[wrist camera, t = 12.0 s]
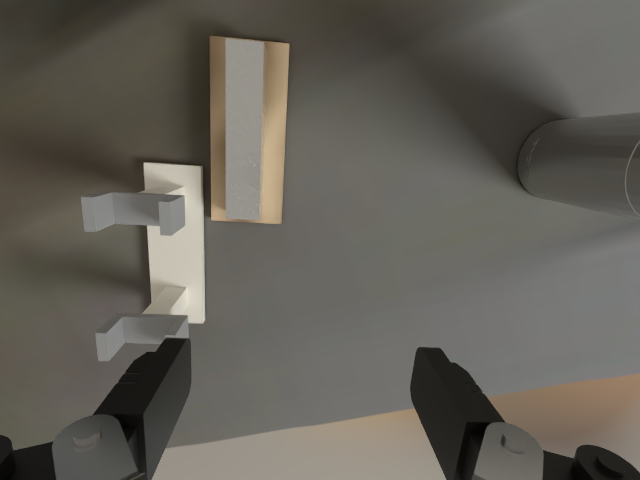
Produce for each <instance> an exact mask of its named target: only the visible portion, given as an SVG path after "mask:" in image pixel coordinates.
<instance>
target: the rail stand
mask: <svg viewBox="0 0 640 480" xmlns="http://www.w3.org/2000/svg"><path fill="white" fill-rule="evenodd" d="M144 180H145V191H141V192H122V191H102V192H98V193H94V194H90V195H86V196H82V197H81V202H82V212H83V221H84V230H85V231H89V232H97V231H99V230H102V229H104V228H106V227H109V226H111V225H113V224H129V225H147V232H148V250H149V267H150V284H151V302H152V303H151V304H150V305H149V306H148V307H147V309H146V310H145V311H144V312H143V313H142V314H137V313H116V314H115V315H114V316H113V317H112V318H111V319H110V320H109V321H108V322H107V323H106V324H104V325H103V326H102V327H101V328H100V329H99V330H98V331H97V332H96V333H95V334H96V343H97V353H98V361H109V360H110V359H111V358H112V357H113V356H114V355H115V353H116V352H117V351H118V350H119V349H120V348H121V346H122V345H123V344H124V343H150V344H161V343H162V342H163V341H164V339H165V338H167V337H172V338H189V333H188V323H204V321H205V276H204V206H203V166H195V165H181V164H166V163H152V162H145V163H144Z"/></svg>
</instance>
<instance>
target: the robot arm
mask: <svg viewBox="0 0 640 480" xmlns="http://www.w3.org/2000/svg"><path fill="white" fill-rule="evenodd" d="M517 167H518V175H519V179H520V182H521V183H522V185H523V187H524V188H525V189H526V190H527V191H528V192H529V193H530V194H532V195H534V196H536V197H539V198H542V199H547V200H552V201H556V202H561V203H564V204H569V205H573V206H578V207H582V208H587V209H592V210H596V211H601V212H605V213H610V214H614V215H619V216H623V217H628V218H632V219H637V220H640V113H630V114H619V115H608V116H597V117H584V118H574V119H563V120H555V121H551V122H548V123H546V124H544V125H542V126H540V127H539V128H537V129H536V130H535V131H534V132H533V133H532V134H531V135H530V136H529V137H528V138H527V140H526V141H525V143H524V145H523V147H522V148H521V151H520V154H519V157H518V165H517ZM190 386H191V342H190V339H189V338H172V337H167V338H165V339H164V341H163V342H162V343H161V345H160V346H159V348H158V349H157V351H156V352H146V353H145V354H143V355H142V356H140V357H139V358H137V359H136V360H134V361H133V363H132V364H131V365H130V367H129V368H128V369H127V371H126V372H125V374H123V376H122V377H121V378H120V380H119V382H118V383H117V384H116V385H115V386H114V388H113V389H112V390H111V392H110V393H109V394H108V395H107V397H106V398H105V399H104V401H103V402H102V403H101V405H100V406H99V407H98V409H97V410H96V411H95V413H94V414H93V415H92V416H88V417H85V418H82V419H80V420H77V421H75V422H73V423H72V424H70V425H69V426H67V427H66V428H64V429H63V430H62V431H61V432H60V433H59V434H58V435H57V437H56V438H55V440H54V441H53V442H50V443H46V444H41V445H37V446H32V447H28V448H23V449H19V450H14V451H13V448H12V442H11V440H10V439H9V438H8V437H5V436H2V435H0V480H151V479H152V477H153V475H154V473H155V470H156V468H157V466H158V464H159V461H160V459H161V457H162V454H163V452H164V450H165V448H166V445H167V443H168V441H169V438H170V436H171V434H172V432H173V429H174V427H175V425H176V423H177V420H178V418H179V416H180V413H181V411H182V409H183V407H184V404H185V402H186V400H187V397H188V395H189V391H190ZM410 392H411V399H412V402H413V405H414V407H415V409H416V412H417V414H418V416H419V418H420V421H421V423H422V425H423V427H424V430H425V432H426V434H427V437H428V439H429V441H430V443H431V446H432V448H433V450H434V452H435V454H436V457H437V459H438V461H439V464H440V466H441V468H442V470H443V473H444V475H445V477H446V479H447V480H640V473H639V472H638V471H637V470H636V469H635V468H634V467H633V466H632V465H631V464H630V463H628V462H627V461H626V460H624V459H623V458H621V457H620V456H618V455H616V454H615V453H613V452H611V451H609V450H606V449H604V448H601V447H598V446H593V445H582V446H580V447H578V448H577V450H576V453H575V456H574V459H573V458H569V457H566V456H562V455H558V454H555V453H551V452H547V451H544V450H542V448H541V446H540V444H539V443H538V442H537V441H536V440H535V438H534V437H532V436H531V435H530V434H529V433H527V432H526V431H524V430H523V429H521V428H519V427H516V426H514V425H512V424H508V423H505V421H504V420H503V419H502V417H501V416H500V414H499V413H498V412H497V411H496V409H495V408H494V407H493V405H492V404H491V403H490V401H489V400H488V398H487V397H486V396H485V394H483V393H482V390H481V389H480V388H479V386H478V385H476V382H475V381H474V380H473V378H472V377H471V376H470V374H469V373H468V372H467V371H466V370H464V369H463V368H462V367H460V366H459V365H458V364H456V363H451V362H450V361H449V359H448V358H447V357H446V355H445V354H444V352H443V351H442V350H441V349H440V348H429V347H419V348H418V349H417V351H416V355H415V361H414V367H413V373H412V379H411V385H410Z"/></svg>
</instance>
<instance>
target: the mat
mask: <svg viewBox="0 0 640 480" xmlns="http://www.w3.org/2000/svg"><path fill="white" fill-rule="evenodd" d="M226 38H228V39H239V38H229V37H219V36H210V130H211V220H217V221H235V222H253V223H270V224H281V221H282V199H283V177H284V155H285V133H286V111H287V89H288V67H289V43H279V42H269V41H260V42H264V44H265V47H266V51H267V63H266V100H265V137H264V175H263V212H262V216H261V218H260V220H241V219H226ZM239 40H249V39H239ZM249 41H259V40H249Z"/></svg>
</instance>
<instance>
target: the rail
mask: <svg viewBox="0 0 640 480" xmlns="http://www.w3.org/2000/svg"><path fill="white" fill-rule="evenodd" d="M266 63H267V51H266V47H265V44H264V42H260V41H249V40H239V39H228V38H226V219H241V220H260V218H261V216H262V212H263V175H264V137H265V100H266Z"/></svg>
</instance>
